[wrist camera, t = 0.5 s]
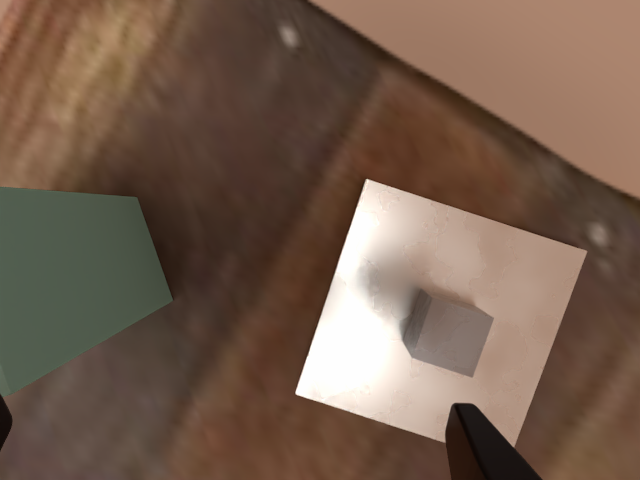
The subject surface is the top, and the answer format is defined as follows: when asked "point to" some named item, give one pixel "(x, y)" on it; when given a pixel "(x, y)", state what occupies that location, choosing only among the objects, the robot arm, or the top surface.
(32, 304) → the tall mint green block
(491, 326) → the plate
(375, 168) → the top surface
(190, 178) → the top surface
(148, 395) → the top surface
